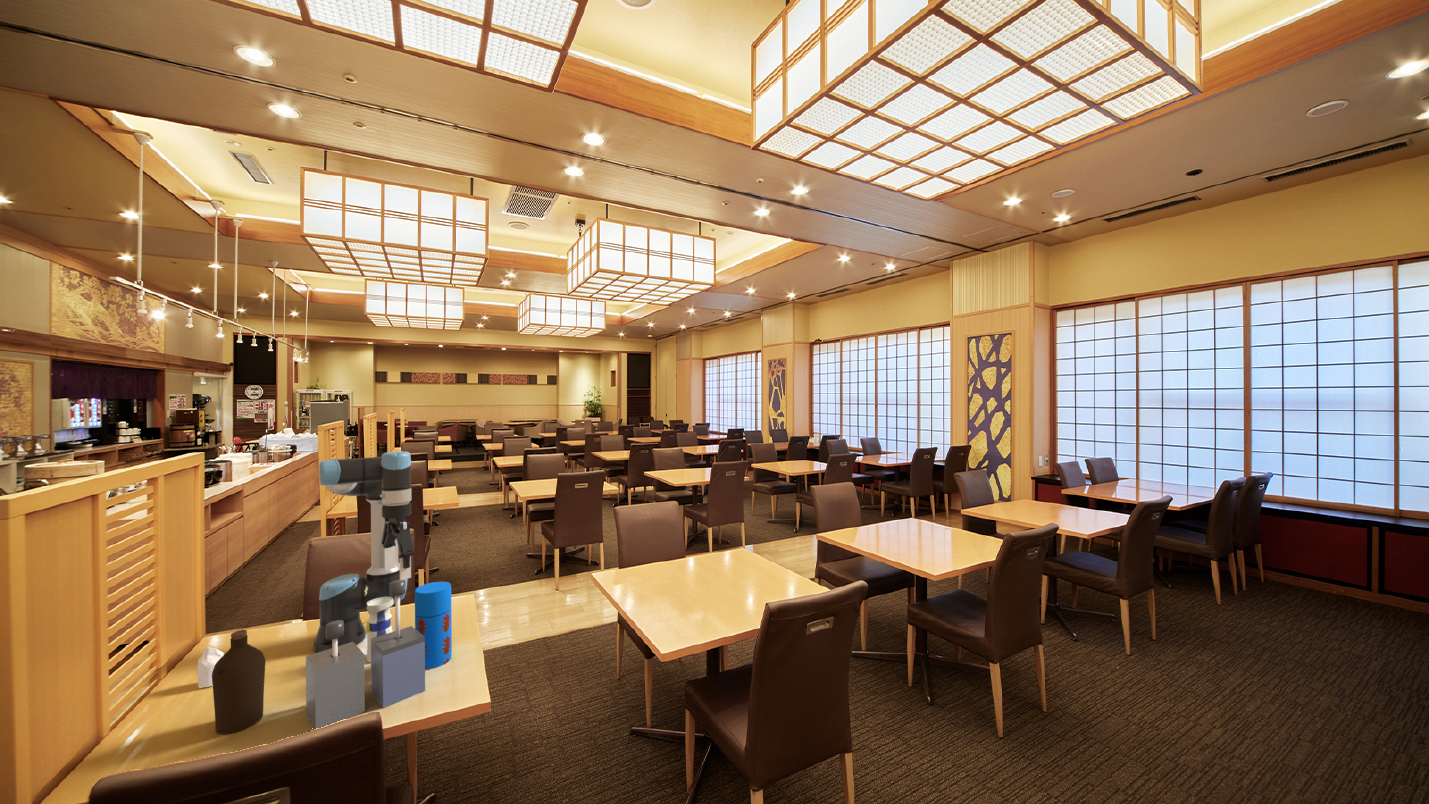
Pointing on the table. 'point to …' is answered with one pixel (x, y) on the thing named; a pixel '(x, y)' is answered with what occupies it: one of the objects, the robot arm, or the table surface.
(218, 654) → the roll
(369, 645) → the water bottle
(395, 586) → the gray knob plunger
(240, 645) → the olive oil
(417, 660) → the indigo press
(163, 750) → the table surface
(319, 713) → the block
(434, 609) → the thermos
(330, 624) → the steel plunger
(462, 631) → the table surface
